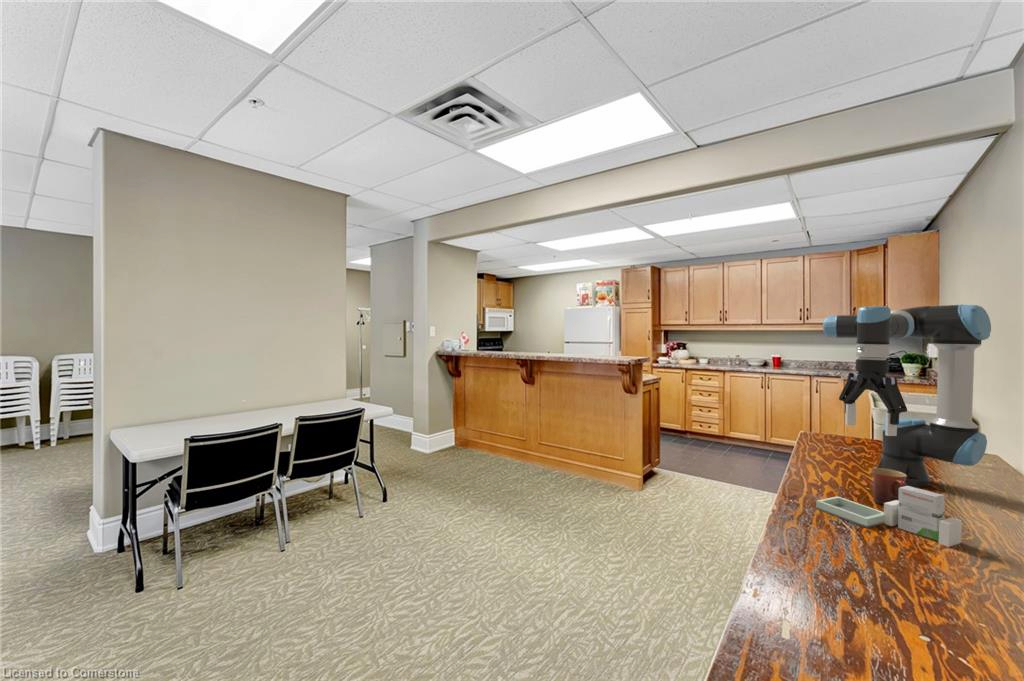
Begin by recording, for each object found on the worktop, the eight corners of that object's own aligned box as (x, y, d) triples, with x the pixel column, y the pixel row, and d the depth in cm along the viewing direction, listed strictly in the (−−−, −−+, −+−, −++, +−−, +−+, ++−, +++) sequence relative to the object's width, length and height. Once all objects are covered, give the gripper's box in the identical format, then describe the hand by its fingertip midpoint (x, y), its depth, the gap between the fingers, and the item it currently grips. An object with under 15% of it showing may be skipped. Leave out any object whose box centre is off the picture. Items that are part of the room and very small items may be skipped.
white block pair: (895, 520, 127) (896, 500, 127) (961, 542, 114) (961, 520, 113) (883, 523, 125) (884, 502, 125) (948, 547, 111) (949, 524, 111)
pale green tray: (837, 504, 138) (837, 496, 138) (888, 522, 125) (888, 513, 125) (816, 508, 135) (816, 500, 135) (866, 528, 122) (867, 519, 122)
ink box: (945, 537, 116) (947, 494, 116) (936, 541, 114) (938, 497, 114) (905, 524, 124) (906, 484, 124) (896, 528, 122) (897, 486, 122)
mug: (864, 497, 144) (865, 467, 144) (894, 499, 142) (895, 469, 142) (887, 512, 132) (888, 479, 132) (920, 515, 131) (922, 481, 130)
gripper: (826, 355, 140) (824, 420, 140) (900, 361, 115) (897, 440, 115) (849, 356, 140) (846, 421, 141) (926, 362, 115) (923, 440, 116)
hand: (869, 430), depth 128 cm, fingers open, 13 cm apart
